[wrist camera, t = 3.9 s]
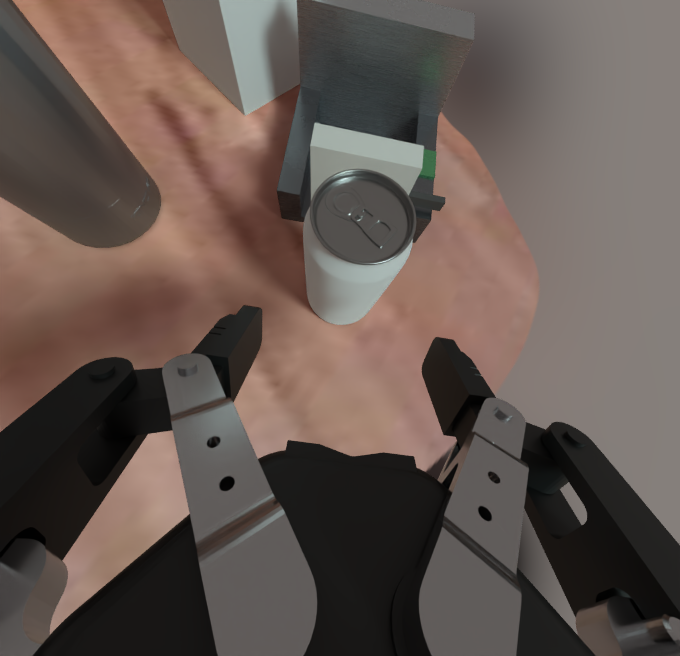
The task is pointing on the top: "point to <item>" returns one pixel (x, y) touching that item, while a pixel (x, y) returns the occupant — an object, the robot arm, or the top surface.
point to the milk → (240, 46)
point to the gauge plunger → (368, 160)
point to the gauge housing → (372, 82)
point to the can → (355, 242)
